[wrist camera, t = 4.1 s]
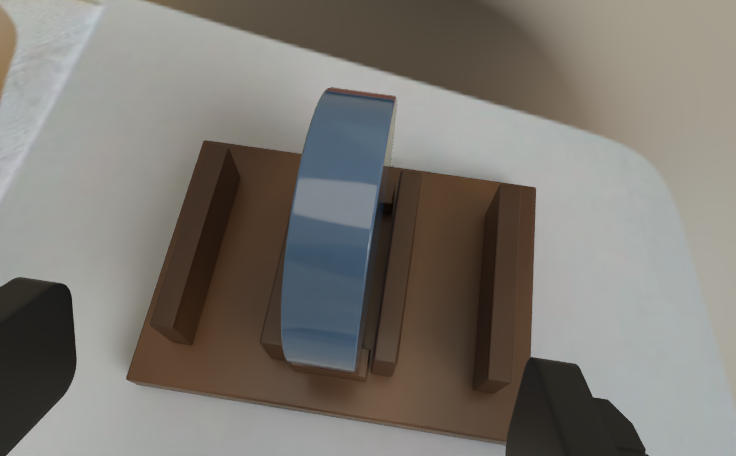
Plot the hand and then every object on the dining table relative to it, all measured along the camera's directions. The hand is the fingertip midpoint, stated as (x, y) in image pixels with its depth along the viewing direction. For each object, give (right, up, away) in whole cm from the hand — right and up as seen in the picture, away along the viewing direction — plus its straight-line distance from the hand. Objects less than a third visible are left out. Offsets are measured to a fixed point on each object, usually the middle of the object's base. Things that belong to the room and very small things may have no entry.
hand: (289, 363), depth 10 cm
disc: (+1, +2, +8) cm, 8 cm away
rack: (+1, 0, +12) cm, 12 cm away
